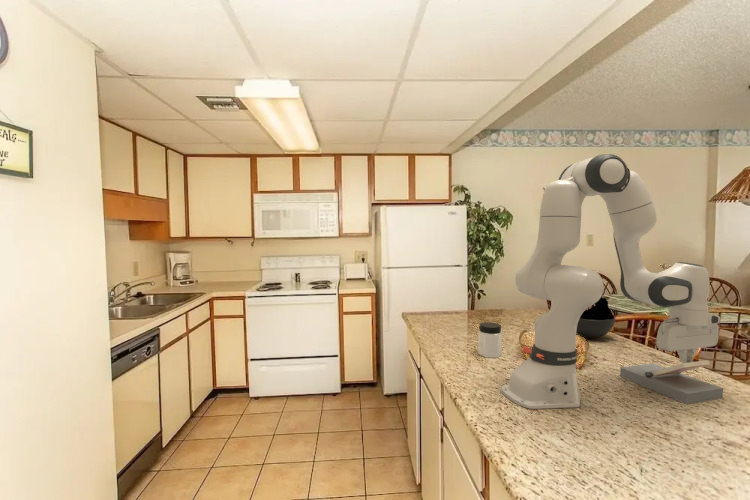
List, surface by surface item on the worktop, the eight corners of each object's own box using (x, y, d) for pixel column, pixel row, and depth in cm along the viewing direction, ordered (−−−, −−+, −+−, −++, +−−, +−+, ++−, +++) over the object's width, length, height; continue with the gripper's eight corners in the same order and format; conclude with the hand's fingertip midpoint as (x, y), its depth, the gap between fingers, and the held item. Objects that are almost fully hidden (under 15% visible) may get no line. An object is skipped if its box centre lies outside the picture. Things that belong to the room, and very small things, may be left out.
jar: (474, 352, 150) (474, 323, 149) (490, 350, 153) (490, 321, 153) (489, 359, 142) (489, 328, 141) (505, 356, 145) (506, 326, 144)
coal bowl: (620, 345, 158) (622, 301, 157) (568, 341, 165) (569, 299, 164) (607, 333, 177) (609, 293, 176) (561, 329, 184) (562, 291, 183)
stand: (686, 404, 105) (687, 387, 105) (620, 376, 125) (620, 362, 125) (722, 398, 109) (723, 382, 109) (652, 371, 129) (652, 358, 129)
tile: (650, 372, 117) (653, 376, 117) (682, 363, 108) (685, 368, 107) (674, 368, 120) (677, 373, 119) (707, 359, 111) (710, 364, 110)
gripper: (673, 321, 105) (670, 369, 106) (724, 317, 111) (722, 362, 112) (651, 316, 111) (649, 362, 112) (701, 312, 117) (698, 355, 118)
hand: (685, 362), depth 112 cm, fingers closed, pressing on tile
